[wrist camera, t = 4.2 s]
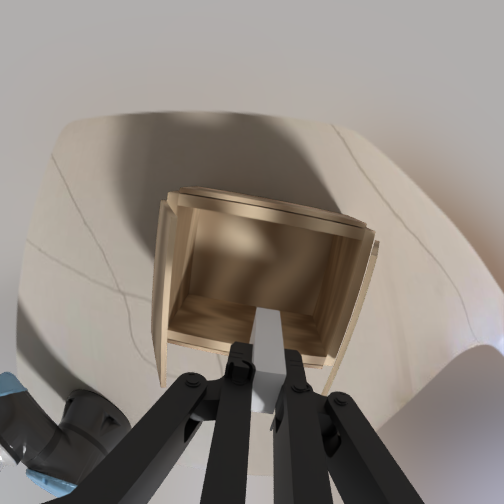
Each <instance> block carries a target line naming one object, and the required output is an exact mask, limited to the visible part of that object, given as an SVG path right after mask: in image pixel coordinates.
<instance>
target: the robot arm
mask: <svg viewBox="0 0 504 504" xmlns="http://www.w3.org/2000/svg"><path fill="white" fill-rule="evenodd" d="M274 410H275V417H274V419H273V422H272V425H271V427H270V431H272V429H273V457H274V504H333V499H332V493H331V487H330V481H329V474H328V471H329V473H330V475H331V477H332V479H333V482H334V483H335V486H336V488H337V490H338V492H339V494H340V496H341V498H342V500H343V502H344V504H424V502H423V501H422V499H421V498H420V496H419V495H418V493H417V492H416V490H415V489H414V487H413V486H412V485H411V483H410V482H409V480H408V479H407V477H406V476H405V474H404V473H403V471H402V470H401V468H400V467H399V466H398V464H397V463H396V461H395V460H394V458H393V457H392V455H391V454H390V453H389V451H388V449H387V448H386V447H385V445H384V444H383V442H382V441H381V439H380V438H379V436H378V435H377V433H376V432H375V431H374V429H373V428H372V426H371V425H370V423H369V422H368V420H367V419H366V417H365V416H364V414H363V413H362V412H361V410H360V409H359V407H358V406H357V404H356V403H355V401H354V400H353V398H352V397H351V396H350V395H348V394H346V393H343V392H332V393H331V394H330V395H329V396H328V397H327V396H323V395H320V394H317V393H315V392H313V389H312V387H311V385H309V384H308V383H307V381H306V376H305V371H304V365H303V360H302V356H301V354H300V353H299V352H298V351H297V350H292V349H284V345H283V336H282V327H281V318H280V311H277V310H271V309H265V308H260V307H257V309H256V314H255V318H254V323H253V328H252V333H251V337H250V342H249V344H248V343H243V342H237V341H235V342H234V343H233V344H232V345H231V347H230V352H229V357H228V362H227V364H226V370H225V375H224V376H223V377H222V378H220V379H217V380H212V381H207V380H206V379H205V377H204V376H202V375H200V374H198V373H194V372H188V373H184V374H182V375H180V376H179V377H178V378H177V380H176V381H175V382H174V383H173V384H172V385H171V386H170V387H169V389H168V390H167V391H166V392H165V393H164V394H163V395H162V396H161V397H160V399H159V400H158V401H157V402H156V403H155V404H154V405H153V406H152V407H151V408H150V410H149V411H148V412H147V413H146V414H145V415H144V416H143V417H142V418H141V419H140V421H139V422H138V423H137V424H136V425H135V426H134V427H133V428H132V429H131V425H130V423H129V421H128V420H127V418H126V417H125V416H124V415H123V414H122V412H121V411H120V410H119V409H117V408H116V407H115V406H114V405H113V404H111V403H110V402H109V401H107V400H106V399H104V398H102V397H101V396H99V395H97V394H95V393H92V392H90V391H86V390H75V391H73V392H72V393H71V395H70V396H69V397H68V399H67V401H66V404H65V408H64V412H63V416H62V420H61V422H60V424H59V425H58V426H57V424H56V423H55V422H54V421H53V420H52V419H51V418H50V417H49V416H48V415H47V414H46V413H45V411H44V410H43V409H42V408H41V407H40V406H39V405H38V403H37V402H36V401H35V400H34V398H33V397H32V396H31V395H30V393H29V392H28V390H27V388H25V387H24V386H23V385H22V384H21V383H20V381H19V380H18V379H17V378H16V376H15V375H14V374H12V373H10V372H4V373H2V374H0V471H1V470H2V469H3V467H4V466H17V465H18V463H19V462H20V461H21V462H22V463H23V464H25V465H26V466H27V467H28V469H26V475H27V477H28V478H30V479H31V480H32V481H33V482H34V483H35V484H37V485H38V486H40V487H41V488H43V489H44V490H46V491H47V492H49V493H51V494H53V495H54V496H56V497H58V498H56V499H53V500H51V501H48V502H45V503H41V504H147V503H148V502H149V500H150V499H151V497H152V496H153V495H154V493H155V492H156V491H157V489H158V488H159V486H160V485H161V484H162V482H163V481H164V479H165V478H166V476H167V475H168V474H169V472H170V471H171V469H172V468H173V466H174V465H175V463H176V462H177V460H178V459H179V457H180V456H181V454H182V453H183V451H184V450H185V448H186V447H187V445H188V444H189V442H190V441H191V439H192V438H193V436H194V435H195V433H196V432H197V430H198V429H199V427H200V426H201V424H202V422H203V421H211V420H216V422H215V427H214V432H213V437H212V443H211V448H210V453H209V458H208V463H207V469H206V474H205V479H204V484H203V489H202V495H201V500H200V504H245V497H246V483H247V468H248V452H249V437H250V421H251V411H253V412H261V413H269V414H273V412H274Z"/></svg>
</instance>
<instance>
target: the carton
mask: <svg viewBox="0 0 504 504" xmlns="http://www.w3.org/2000/svg"><path fill="white" fill-rule="evenodd" d="M167 203H168V205H169V206H170V208H171V209H172V210H173V212H174V213H175V215H176V216H177V218H178V219H177V227H176V235H175V244H174V253H173V263H172V274H171V285H170V299H169V314H168V333H167V342H168V343H172V344H176V345H180V346H184V347H189V348H193V349H197V350H202V351H207V352H211V353H216V354H221V355H227V356H229V352H230V347H231V345H232V344H233V343H234V342H235V341H237V342H243V343H248V344H249V342H250V337H251V333H252V328H253V323H254V318H255V314H256V309H257V307H260V308H265V309H271V310H277V311H280V318H281V327H282V336H283V345H284V349H292V350H297V351H298V352H299V353H300V354H301V356H302V360H303V365H304V367H308V368H317V369H322V367H323V365H327V366H333V363H334V361H335V358H336V356H337V353H338V351H339V348H340V345H341V343H342V340H343V337H344V335H345V332H346V329H347V326H348V323H349V321H350V318H351V315H352V312H353V309H354V306H355V303H356V300H357V297H358V293H359V290H360V287H361V284H362V280H363V277H364V273H365V270H366V266H367V263H368V259H369V256H370V252H371V248H372V244H373V240H374V236H375V231H373V230H371V229H369V228H367V227H366V225H367V224H366V223H364V222H362V221H359V220H357V219H355V218H352V217H350V216H348V215H344V214H340V213H335V212H331V211H326V210H322V209H317V208H313V207H308V206H303V205H298V204H293V203H289V202H284V201H278V200H273V199H268V198H263V197H257V196H252V195H246V194H241V193H235V192H229V191H223V190H217V189H211V188H204V187H198V186H195V187H182V188H180V191H171V192H168V196H167Z"/></svg>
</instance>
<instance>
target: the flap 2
mask: <svg viewBox="0 0 504 504" xmlns="http://www.w3.org/2000/svg"><path fill="white" fill-rule="evenodd" d="M378 248H379V241H376V240H375V243H374V246H373V249H372V253H371V256H370V260H369V264H368V267H367V271H366V274H365V278H364V281H363V284H362V287H361V291H360V294H359V297H358V300H357V303H356V306H355V309H354V312H353V315H352V318H351V321H350V324H349V327H348V329H347V332H346V335H345V338H344V340H343V343H342V346H341V348H340V351H339V353H338V356H337V359H336V361H335V363H334V366H333V368H332V371H331V373H330V376H329V378H328V380H327V383H326V385H325V387H324V389H323V392H322V394H321V395H323V396H327V393H328V391H329V389H330V387H331V385H332V382H333V380H334V378H335V376H336V373H337V371H338V369H339V366H340V364H341V361H342V359H343V357H344V354H345V352H346V349H347V346H348V344H349V341H350V339H351V336H352V333H353V331H354V328H355V325H356V322H357V320H358V317H359V314H360V311H361V308H362V305H363V302H364V299H365V296H366V293H367V290H368V286H369V283H370V280H371V277H372V273H373V270H374V266H375V263H376V259H377V255H378Z"/></svg>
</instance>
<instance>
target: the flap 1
mask: <svg viewBox="0 0 504 504" xmlns="http://www.w3.org/2000/svg"><path fill="white" fill-rule="evenodd" d="M177 219H178V218H177V216H176V215H175V213H174V212H173V210H172V209H171V208H170V206H169V205H168V203H167V202H166V200H161V202H160V210H159V219H158V228H157V237H156V248H155V260H154V274H153V291H152V317H151V333H152V340H153V346H154V352H155V358H156V364H157V370H158V375H159V380H160V385H161V388H163V387H166V362H167V333H168V314H169V299H170V285H171V274H172V263H173V253H174V244H175V235H176V227H177Z"/></svg>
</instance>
